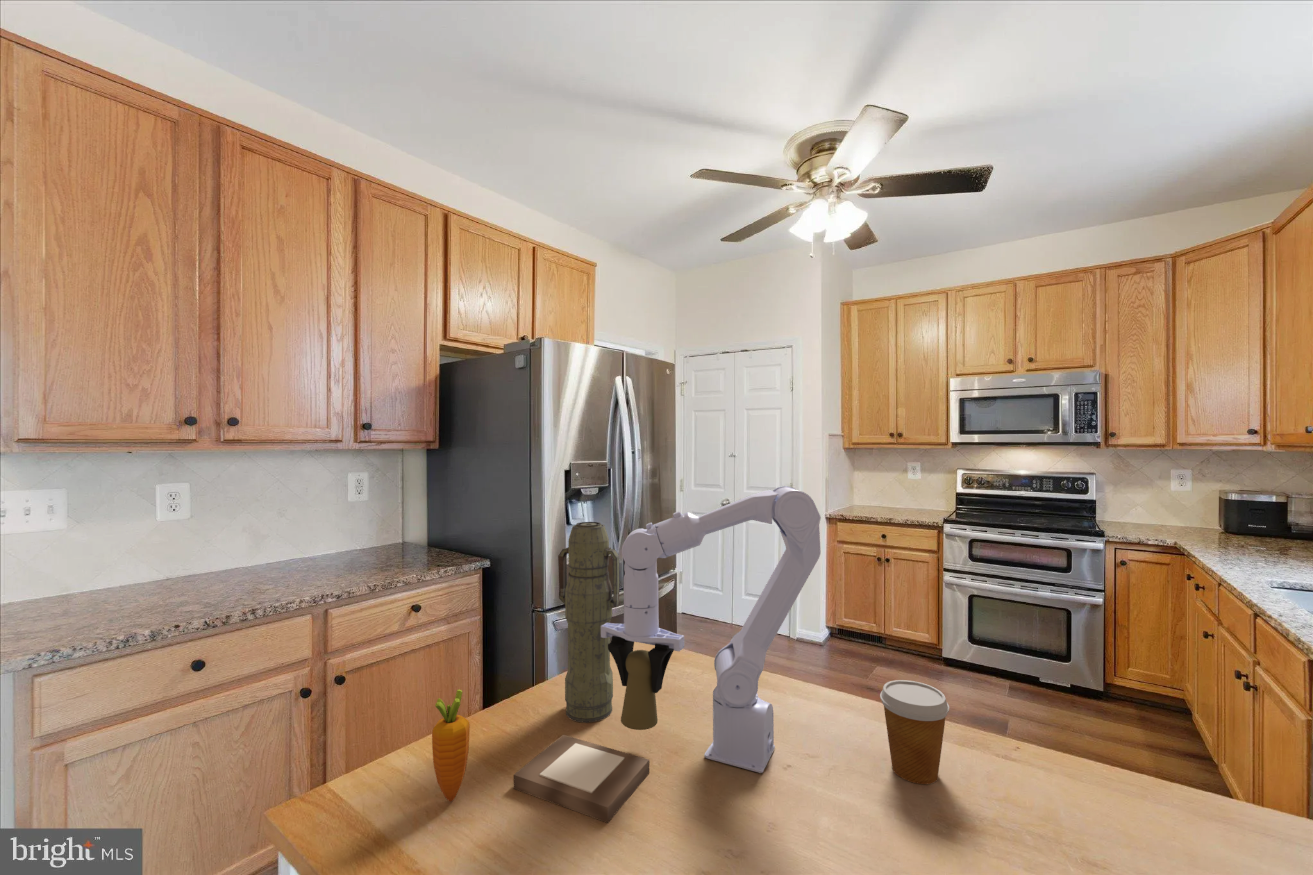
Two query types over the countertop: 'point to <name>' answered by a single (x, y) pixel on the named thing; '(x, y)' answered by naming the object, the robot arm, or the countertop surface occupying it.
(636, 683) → the olive pawn piece
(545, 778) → the walnut plinth
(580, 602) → the thermos
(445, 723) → the carrot
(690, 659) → the countertop surface
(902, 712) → the disposable coffee cup
